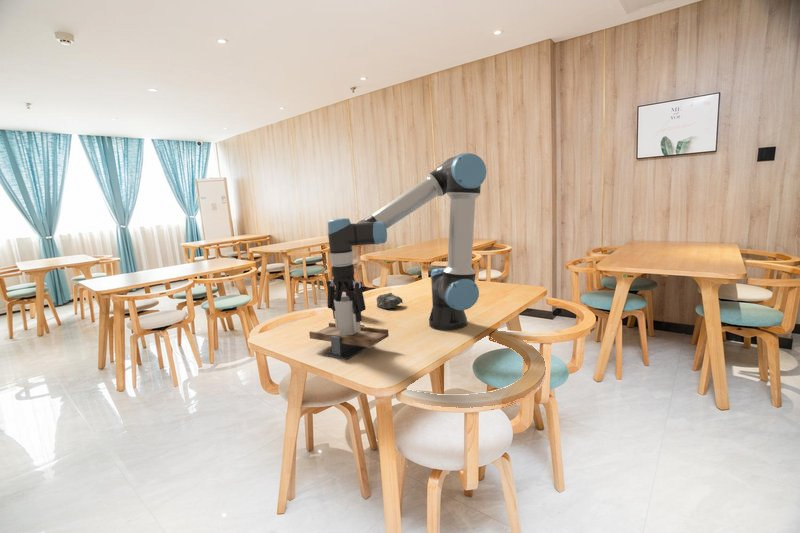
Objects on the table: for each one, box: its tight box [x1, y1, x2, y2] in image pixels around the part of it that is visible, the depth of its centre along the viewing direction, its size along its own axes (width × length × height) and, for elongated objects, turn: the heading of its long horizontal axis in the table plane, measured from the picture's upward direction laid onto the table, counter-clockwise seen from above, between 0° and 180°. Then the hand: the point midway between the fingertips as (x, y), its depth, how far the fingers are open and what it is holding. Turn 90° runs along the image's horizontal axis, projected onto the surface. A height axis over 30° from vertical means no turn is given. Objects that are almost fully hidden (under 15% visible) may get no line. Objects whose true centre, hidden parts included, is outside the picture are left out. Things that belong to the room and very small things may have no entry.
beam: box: [308, 322, 390, 348], centre depth 141 cm, size 26×11×2 cm, turn 59°
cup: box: [334, 295, 357, 336], centre depth 139 cm, size 8×8×12 cm
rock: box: [376, 292, 404, 310], centre depth 191 cm, size 13×9×6 cm, turn 68°
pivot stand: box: [323, 324, 369, 361], centre depth 141 cm, size 10×16×7 cm, turn 149°
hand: (348, 329), depth 140 cm, fingers closed on cup, 7 cm apart
